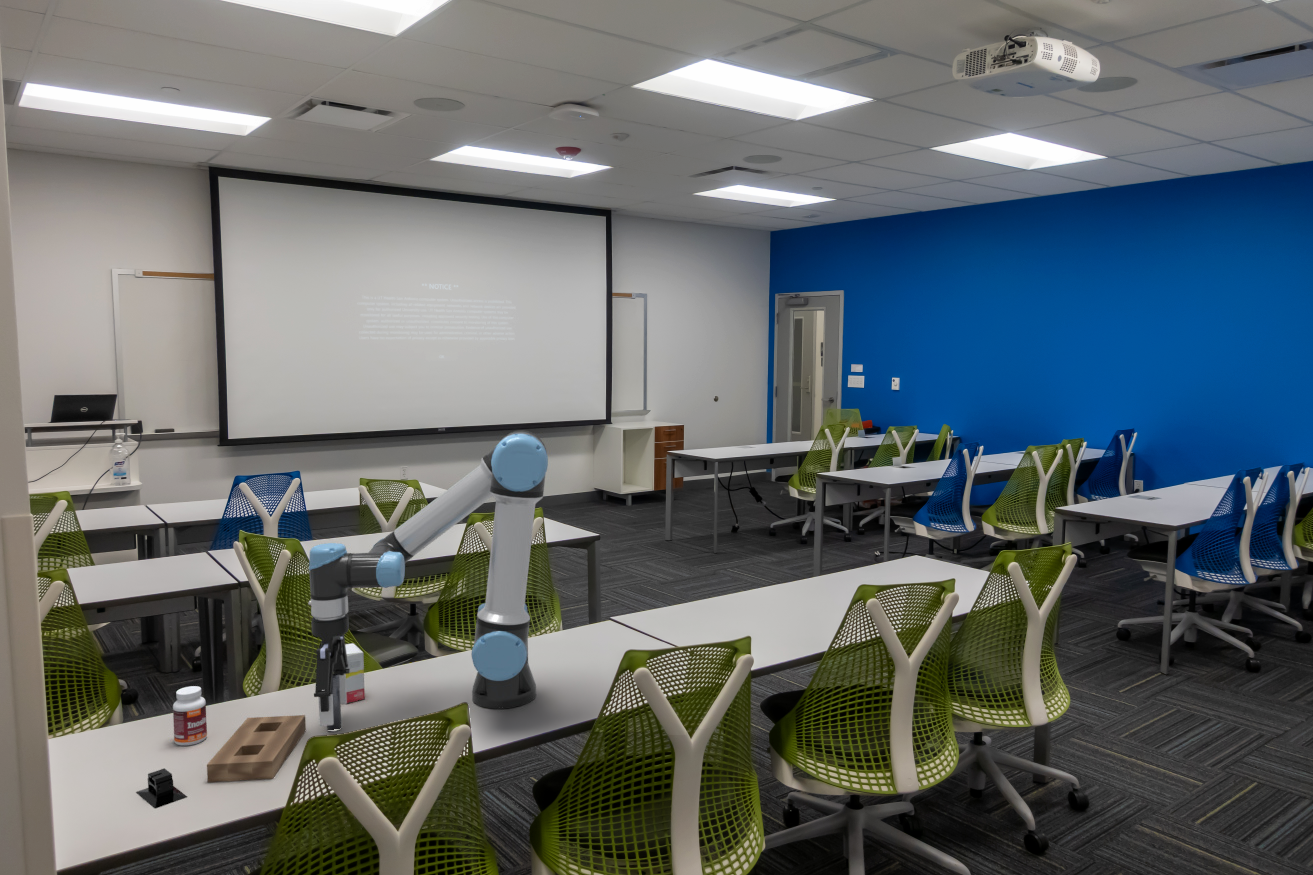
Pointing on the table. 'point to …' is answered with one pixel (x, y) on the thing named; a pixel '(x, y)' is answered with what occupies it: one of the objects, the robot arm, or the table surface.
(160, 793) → the black stepped mount
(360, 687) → the ink box
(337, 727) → the pin
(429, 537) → the robot arm
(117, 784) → the table surface
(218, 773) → the socket block
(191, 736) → the pill bottle
